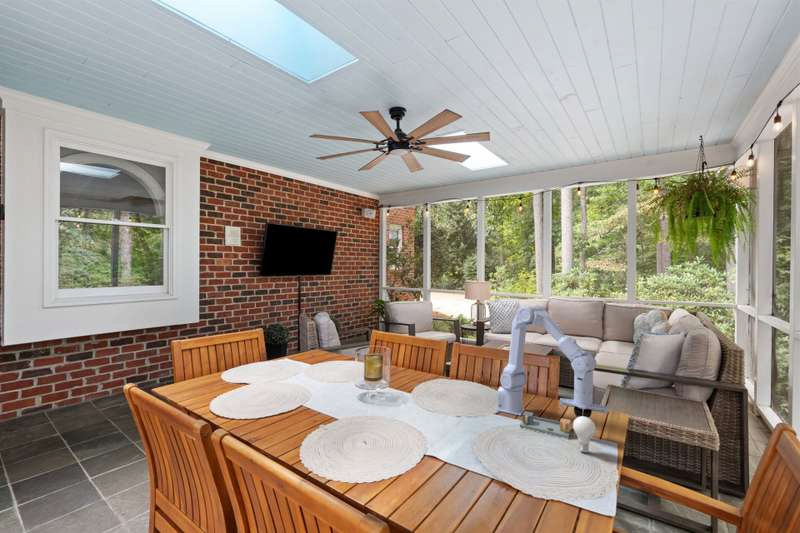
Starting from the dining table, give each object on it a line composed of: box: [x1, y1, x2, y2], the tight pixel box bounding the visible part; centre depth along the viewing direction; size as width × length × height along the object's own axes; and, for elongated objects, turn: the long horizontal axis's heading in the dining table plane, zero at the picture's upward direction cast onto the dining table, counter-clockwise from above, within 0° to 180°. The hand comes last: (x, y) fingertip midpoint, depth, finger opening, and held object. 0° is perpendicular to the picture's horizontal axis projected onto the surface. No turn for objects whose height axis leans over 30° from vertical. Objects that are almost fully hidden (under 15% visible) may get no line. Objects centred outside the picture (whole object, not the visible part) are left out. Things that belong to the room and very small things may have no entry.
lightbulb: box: [572, 415, 597, 454], centre depth 114 cm, size 6×6×11 cm
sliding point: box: [559, 418, 571, 433], centre depth 126 cm, size 3×5×3 cm, turn 150°
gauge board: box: [519, 410, 573, 440], centre depth 131 cm, size 16×10×4 cm, turn 60°
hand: (582, 430), depth 124 cm, fingers closed
